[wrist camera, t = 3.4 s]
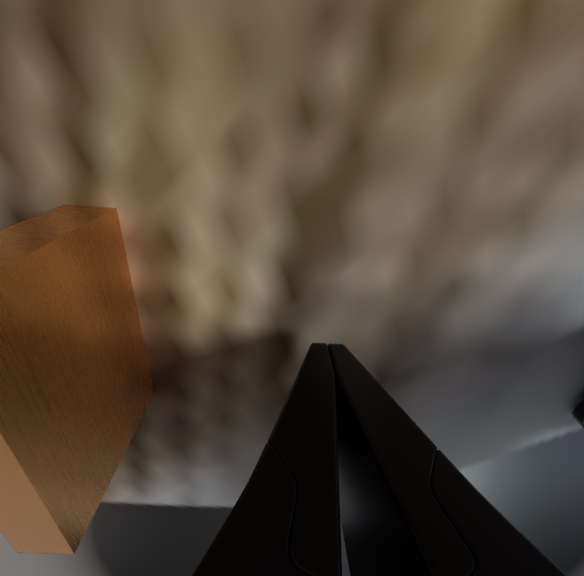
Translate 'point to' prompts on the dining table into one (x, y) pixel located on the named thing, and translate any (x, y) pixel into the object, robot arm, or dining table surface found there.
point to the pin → (65, 373)
